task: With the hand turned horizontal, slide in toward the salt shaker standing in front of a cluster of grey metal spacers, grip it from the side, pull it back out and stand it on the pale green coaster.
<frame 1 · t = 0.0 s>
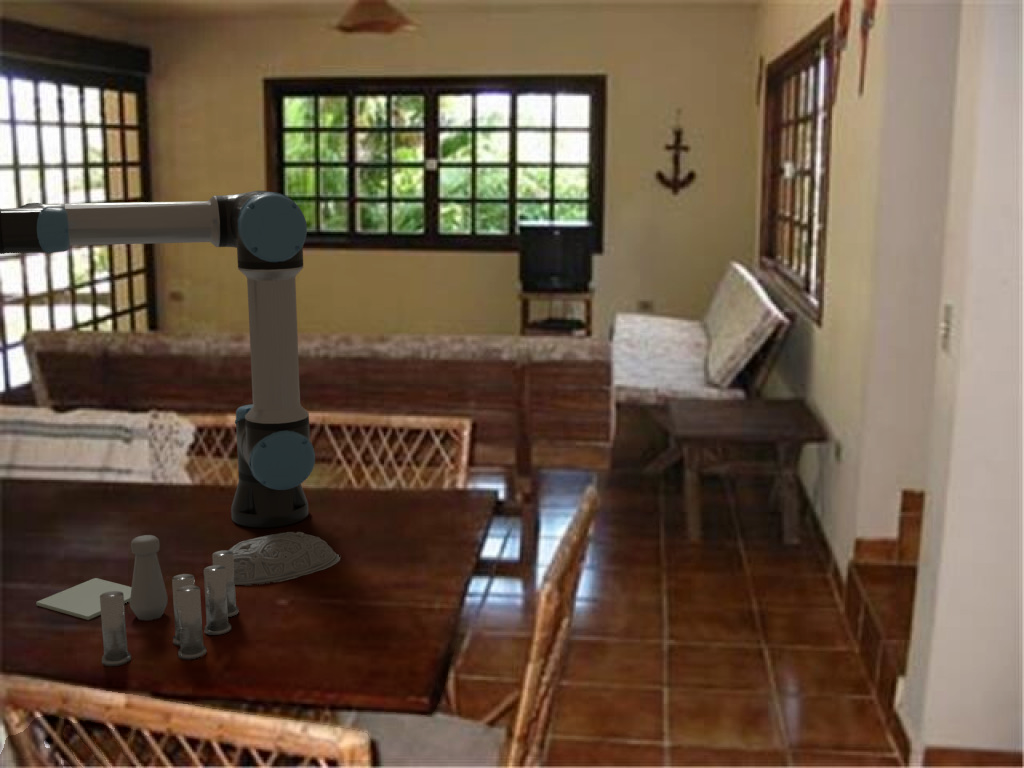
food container: (273, 569, 203), on the table
spacers: (181, 633, 175), on the table
salt shaker: (149, 616, 182), on the table
coaster: (92, 599, 188), on the table
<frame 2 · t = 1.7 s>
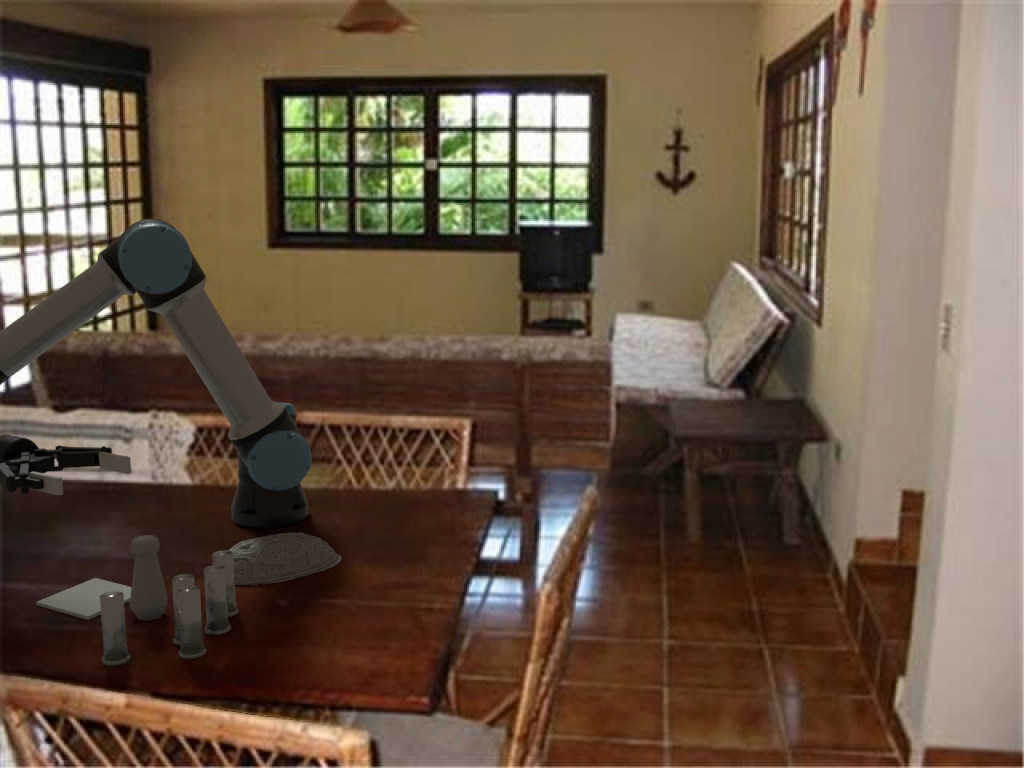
hand: (96, 475, 182), 22 cm above the table, tool horizontal, fingers open, 13 cm apart
nothing on the table moved.
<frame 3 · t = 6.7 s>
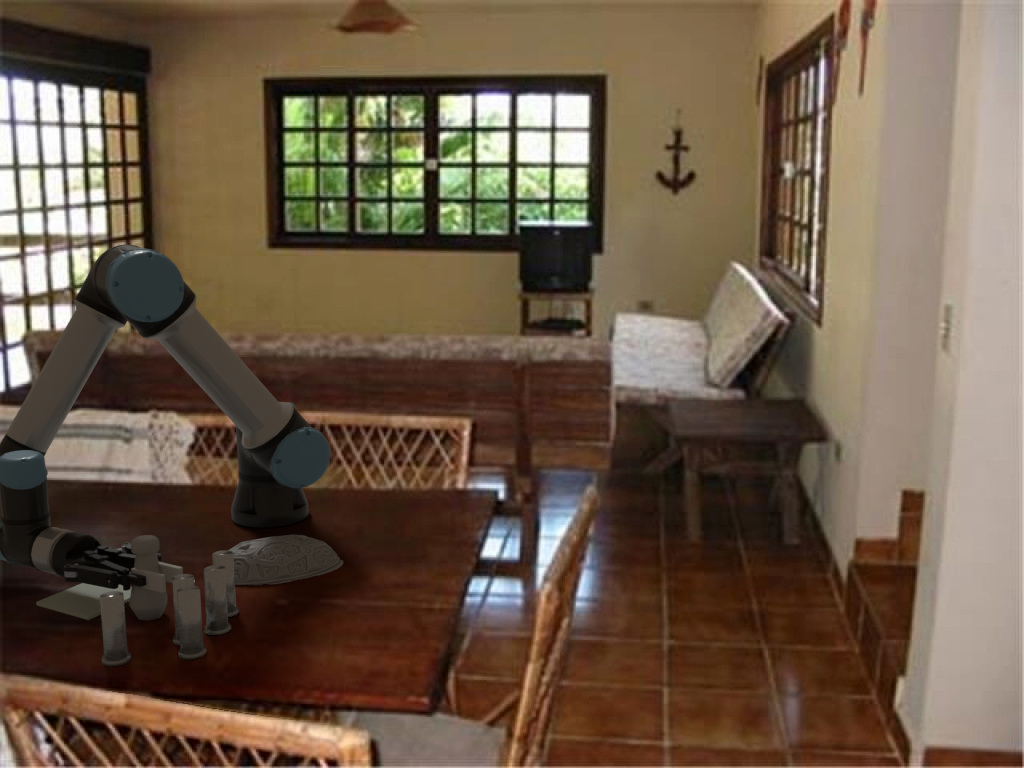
hand: (172, 579, 178), 7 cm above the table, tool horizontal, fingers closed on salt shaker, 3 cm apart
salt shaker: (149, 616, 182), on the table, touching gripper
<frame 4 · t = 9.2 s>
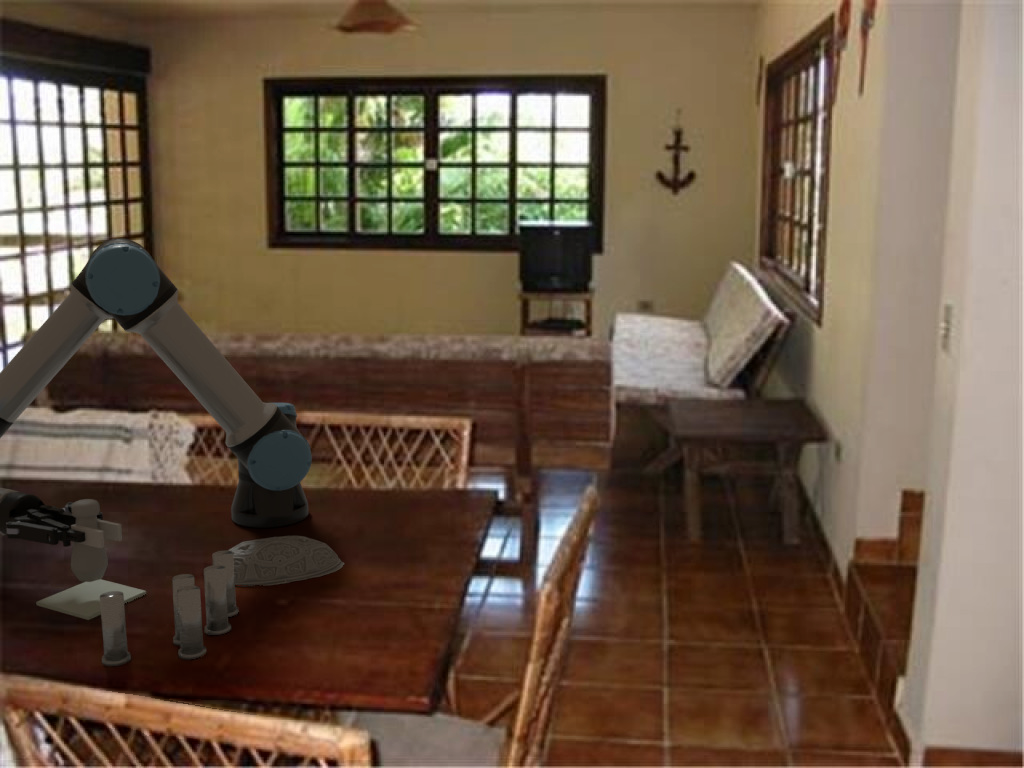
hand: (110, 536, 183), 12 cm above the table, tool horizontal, fingers closed on salt shaker, 3 cm apart
salt shaker: (90, 578, 187), point 4 cm above the table, touching gripper
when the fingers open (9 cm above the table, at t = 10.0 s): salt shaker stays where it is, resting on coaster.
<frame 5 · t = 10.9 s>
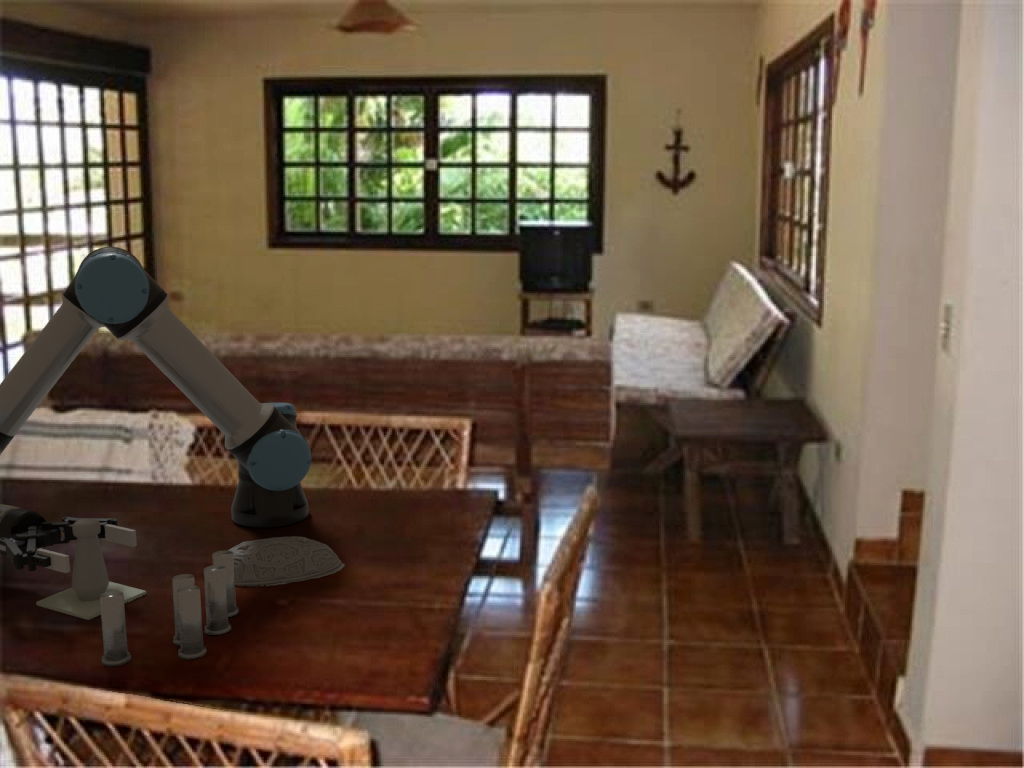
hand: (102, 551, 185), 9 cm above the table, tool horizontal, fingers open, 13 cm apart
salt shaker: (91, 597, 188), resting on coaster
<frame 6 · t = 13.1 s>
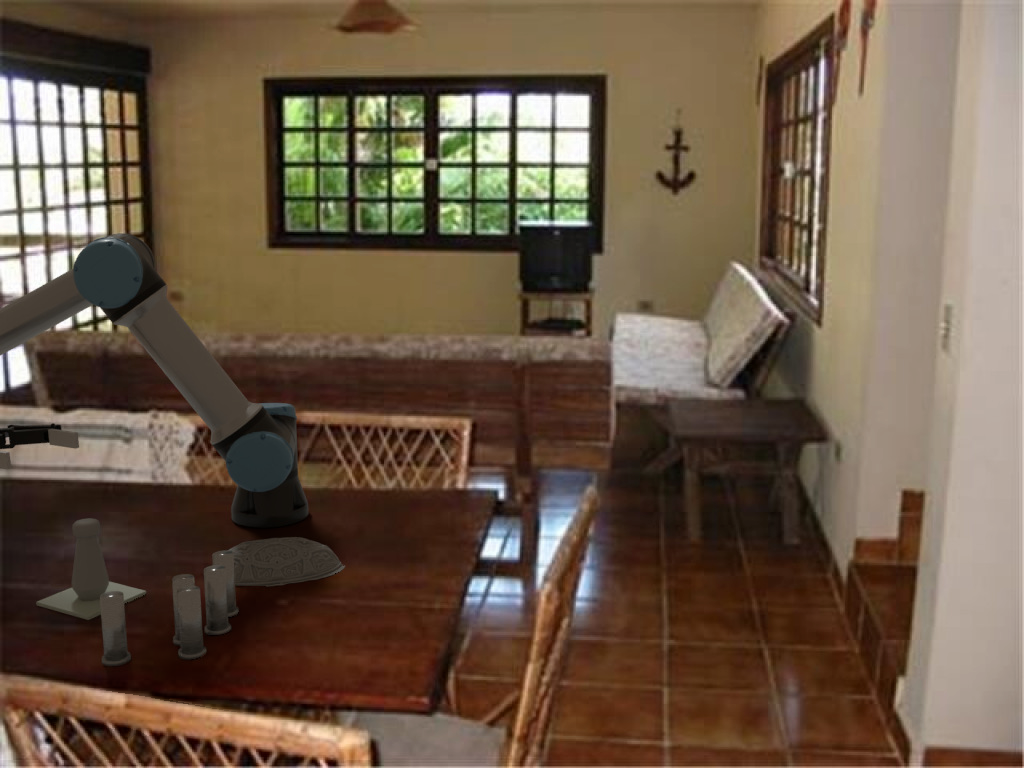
hand: (43, 450, 190), 23 cm above the table, tool horizontal, fingers open, 13 cm apart
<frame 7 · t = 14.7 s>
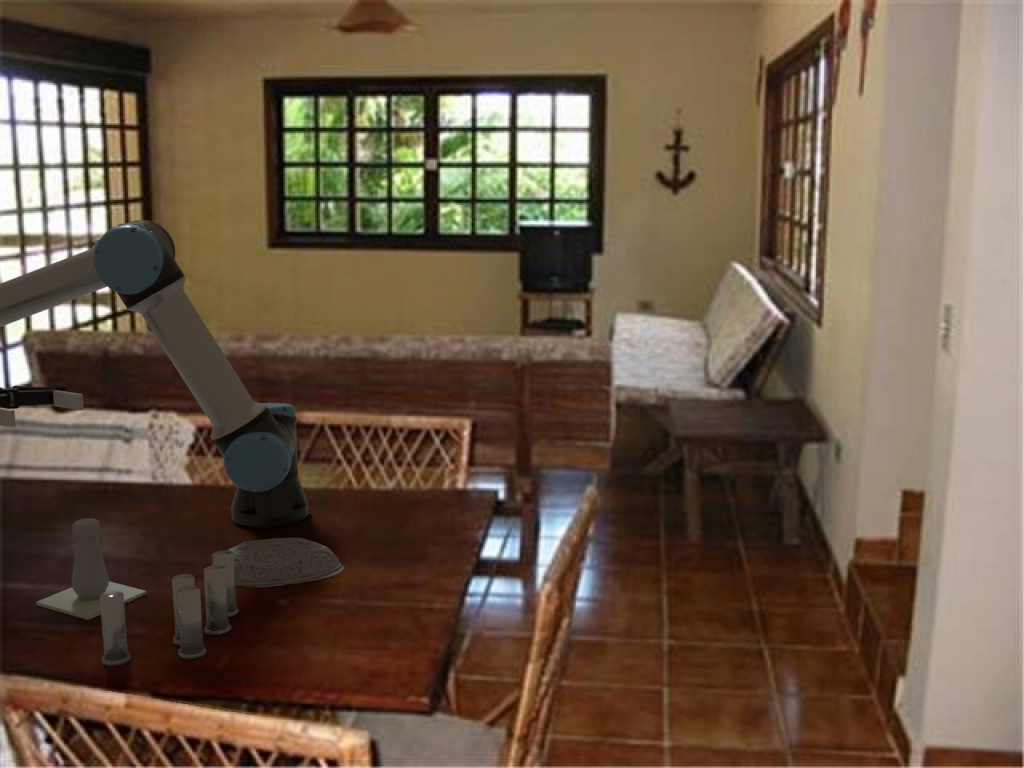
hand: (48, 410, 190), 30 cm above the table, tool horizontal, fingers open, 13 cm apart
at the end: salt shaker inside the target area on the coaster (0.0 cm from its centre), point 0.4 cm above the coaster's base; salt shaker tilted 0°; the gripper is holding nothing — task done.
